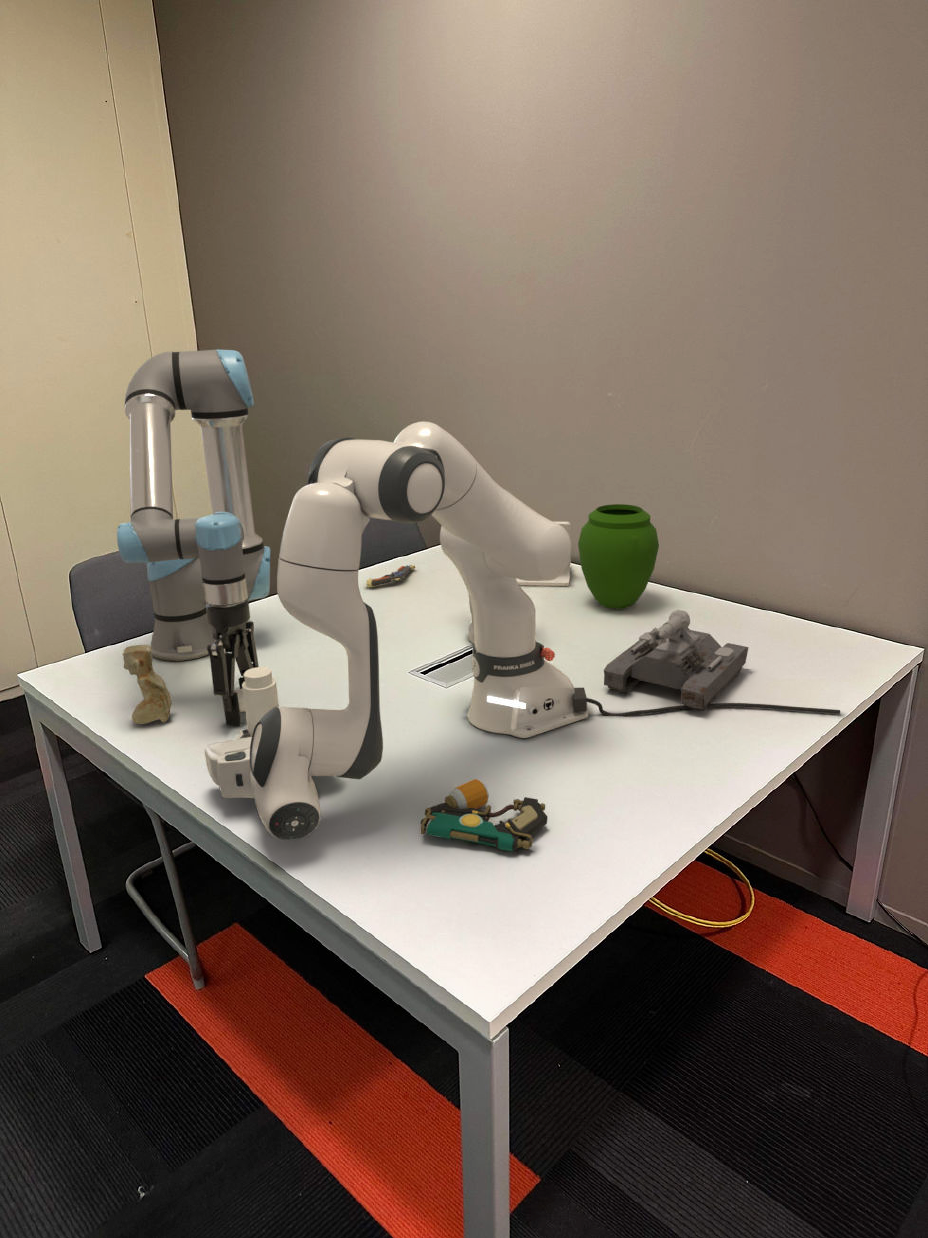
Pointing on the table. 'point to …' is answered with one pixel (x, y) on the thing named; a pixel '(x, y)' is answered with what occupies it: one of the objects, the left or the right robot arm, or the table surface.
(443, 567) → the table surface
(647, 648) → the toy
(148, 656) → the sculpture
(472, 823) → the spray gun
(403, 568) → the toy gun
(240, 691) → the lid
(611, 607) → the vase
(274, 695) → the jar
